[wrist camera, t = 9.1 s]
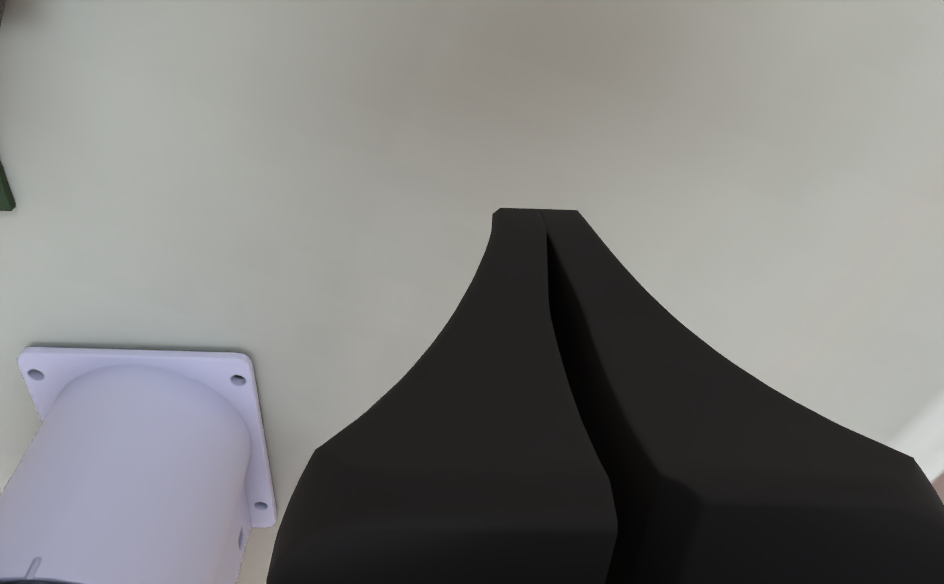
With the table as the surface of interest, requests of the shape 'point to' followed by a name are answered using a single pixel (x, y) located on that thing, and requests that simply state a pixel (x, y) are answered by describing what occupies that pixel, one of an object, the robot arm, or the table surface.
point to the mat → (5, 194)
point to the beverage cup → (1, 9)
